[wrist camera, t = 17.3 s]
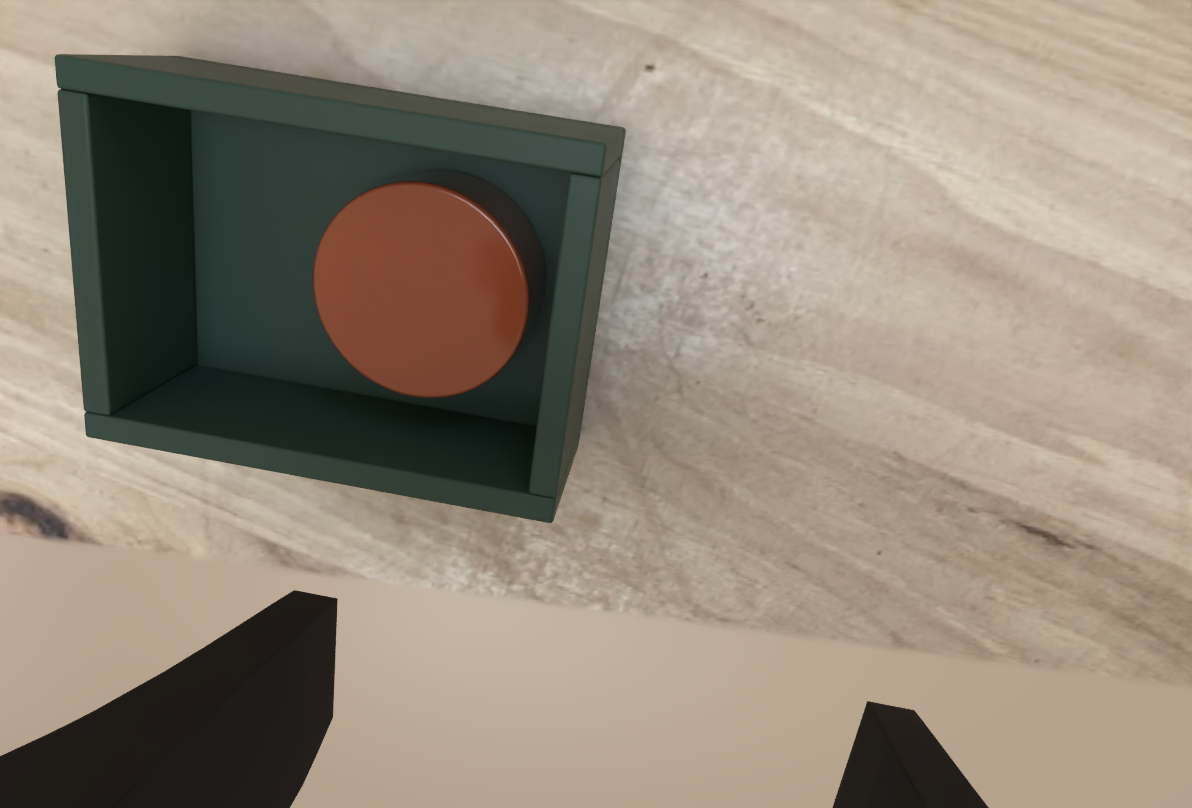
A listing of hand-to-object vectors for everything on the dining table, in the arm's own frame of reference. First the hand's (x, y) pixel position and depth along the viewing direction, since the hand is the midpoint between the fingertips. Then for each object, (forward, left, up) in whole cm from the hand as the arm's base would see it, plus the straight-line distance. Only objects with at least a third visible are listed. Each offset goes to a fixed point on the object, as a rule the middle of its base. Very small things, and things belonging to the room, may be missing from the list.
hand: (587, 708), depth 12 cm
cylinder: (+3, +5, -10) cm, 11 cm away
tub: (+3, +7, -10) cm, 13 cm away
